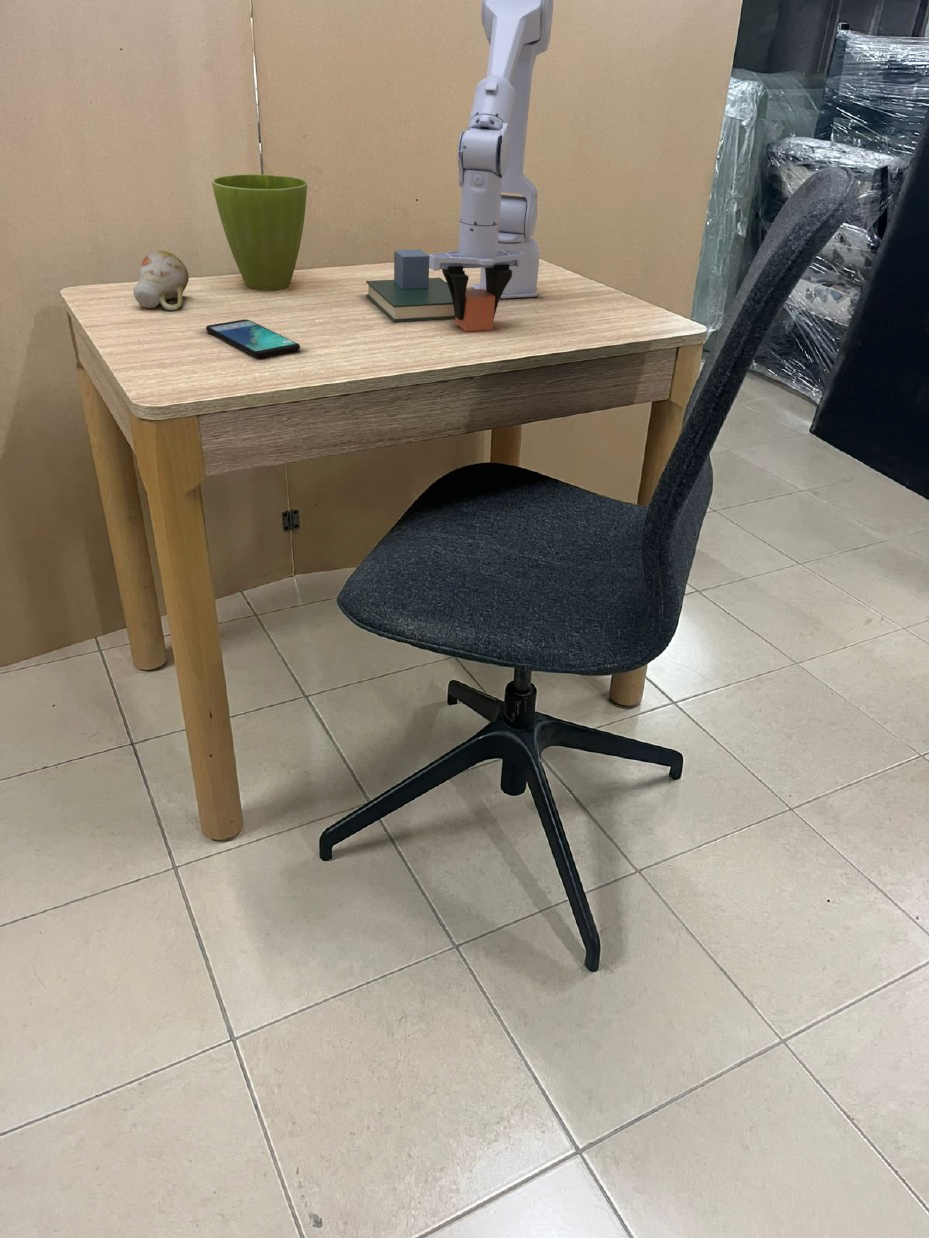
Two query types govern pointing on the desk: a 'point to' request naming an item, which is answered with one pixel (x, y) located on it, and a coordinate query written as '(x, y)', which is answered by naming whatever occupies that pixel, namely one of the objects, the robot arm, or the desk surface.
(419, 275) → the slate block
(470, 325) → the terracotta block
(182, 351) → the desk surface
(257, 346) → the smartphone
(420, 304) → the book
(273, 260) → the flower pot
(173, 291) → the mug
